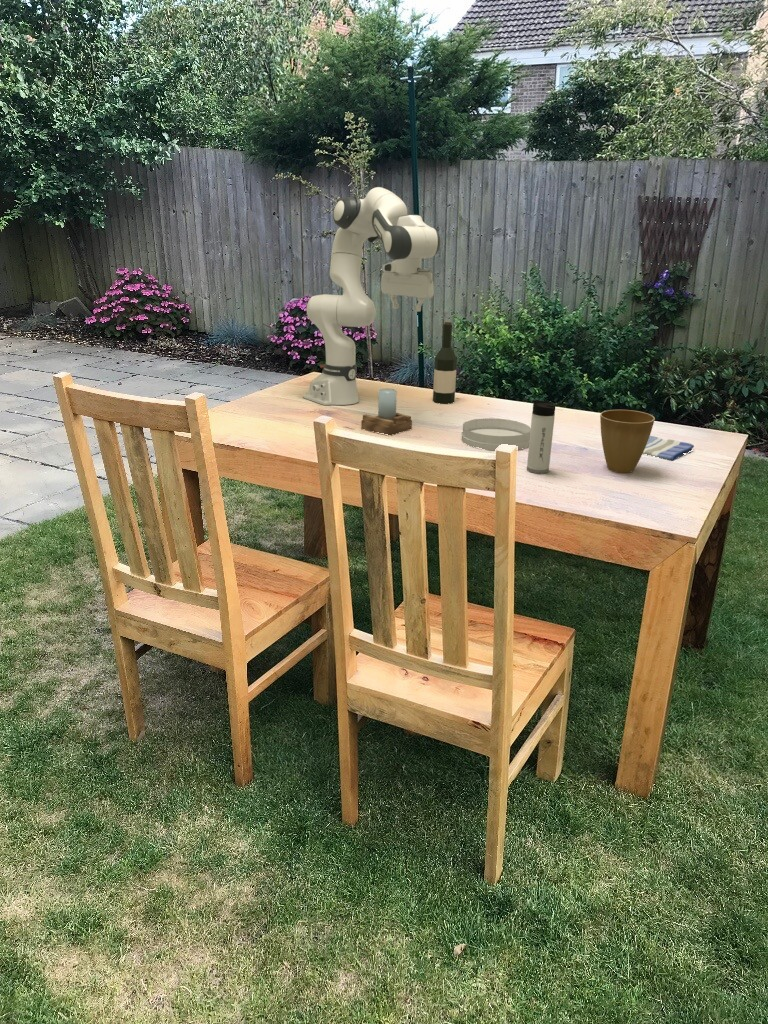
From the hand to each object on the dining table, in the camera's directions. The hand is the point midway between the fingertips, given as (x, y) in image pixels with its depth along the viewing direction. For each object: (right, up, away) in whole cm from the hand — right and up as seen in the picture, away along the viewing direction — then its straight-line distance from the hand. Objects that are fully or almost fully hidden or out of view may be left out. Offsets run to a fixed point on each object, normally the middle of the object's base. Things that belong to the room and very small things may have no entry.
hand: (406, 309), depth 263 cm
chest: (-7, -40, -2) cm, 41 cm away
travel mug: (+36, -56, -39) cm, 77 cm away
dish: (+28, -46, -11) cm, 55 cm away
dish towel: (+77, -48, -14) cm, 92 cm away
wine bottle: (+15, -26, +37) cm, 48 cm away
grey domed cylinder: (-7, -37, -3) cm, 38 cm away
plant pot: (+61, -56, -36) cm, 90 cm away
